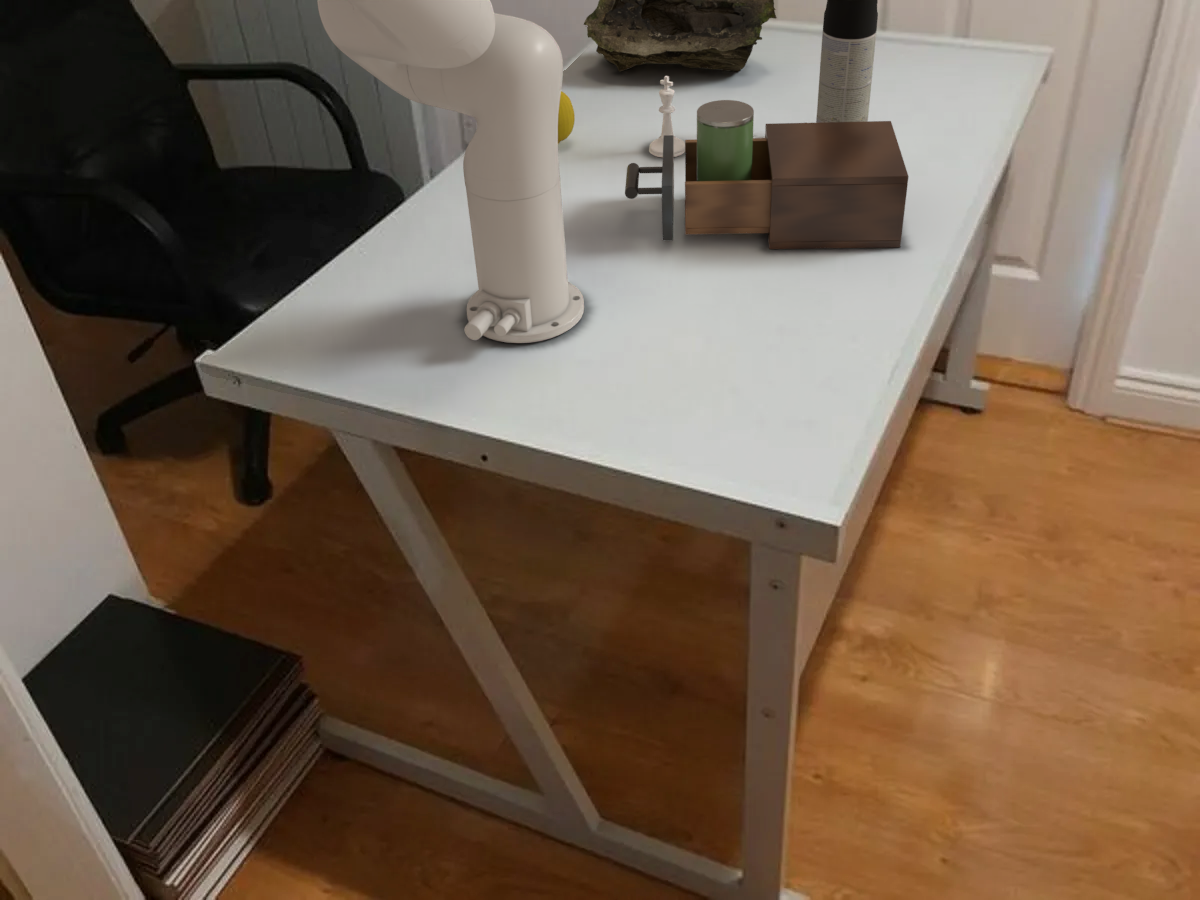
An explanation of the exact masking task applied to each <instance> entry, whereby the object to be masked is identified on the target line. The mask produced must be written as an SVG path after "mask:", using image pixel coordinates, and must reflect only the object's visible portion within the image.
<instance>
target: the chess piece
mask: <svg viewBox="0 0 1200 900" xmlns="http://www.w3.org/2000/svg"><path fill="white" fill-rule="evenodd" d="M659 84H660V85H663V87H664V88H662V89H660V90H659V91H658V95H659V97H660V101H661V104H662V105H661V106H660V107H658V112H659V113H661V114H663V115H662V125H661V134H660V136H658V138H656V139H654V140H652V141H651V142H650V143H649V148H648V152H649V154H651V155H652V156H655V157H658V158H662V159H663V138H664V135H673V136H674V158H677V157H679V156H681V155H683V154H684V153H685V140H683V139H680V138H678V137H677V136H675V135H674V134H675V133H674V128H673V121H672V114H673V113H675V112H676V107H675V106H674V105H672V103H673V99H674V96H675V90H674V89H673V88H670V87H673V86H674V82H673V81H670V76H669V75H664V77H663V79H660V81H659Z"/></svg>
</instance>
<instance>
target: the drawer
mask: <svg viewBox="0 0 1200 900" xmlns="http://www.w3.org/2000/svg"><path fill="white" fill-rule="evenodd" d="M674 136H675V135H674ZM674 136H673V135H664V138H663V158H662V163H661V164H662V165H661V166H640V165H639V164H638V163H636V162H631V163H629V164H627V166H626V174H625V175H626V176H625V185H624V186H625V187H624V195H625V197H626V198H627V199H629V200H634V199H636V198H637V197H638V195H661V223H662V224H661V225H662V227H661V229H662V231H661V232H662V241H663V242H668V241H669V242H670V241H671V242H672V241H674V213H675V212H674V211H675V210H674V209H675V157H674ZM684 142H685V152H684V153H685V154H684V156H685V157H684V162H685V163H684V168H685V169H684V171H685V172H684V176H685V178H684V222H685V223H684V235H733V234H734V235H736V234H737V235H739V234H742V235H745V234H768V233H769V229H770V206H771V183H772V182H771V173H770V165H769V157H768V148H767V140H766V138H765V137H753V152H752V180H744V181H697V138H695V139H685V140H684ZM640 174H661V186H660V187H657V186H656V187H655V186H654V187H639V183H640Z"/></svg>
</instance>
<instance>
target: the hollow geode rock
mask: <svg viewBox="0 0 1200 900" xmlns="http://www.w3.org/2000/svg"><path fill="white" fill-rule="evenodd" d="M776 10H777V9H776V8H775V0H598V2H597V6H596V8H595V9H594V10H593V11H592V12H591V13H590V14H589V15H587V16H586V17H585V19H584V22H583V25H584V26H585V27H586V31H587V32H586V33H587V34H586V35H587V38H591V40H592V41H593V42H595V44H596V45H597V47H596V50H595V52H596V53H597V54H599V55H602V56H603V58H604V59H605V60H606V61H607V62H609V63H611V64H613V65H615V66H616V69H617V70H618V72H623V71H626V70H628V69H631V68H633V67H635V66H642V65H644V64H656V65H659V64H661V65H666V64H670V65H671V64H673V65H674V64H680V65H681V66H682V67H683V68H689V69H707V70H712V71H714V70H720V71H722V72H726V71H727V72H728V71H730V72H741V70H743V69H744V68H745V66H746V65H747V62H748V60H749V59H750V56H751V55H752V52H753V48H754V46H756V45H757V44H758V41H762V40H763V37H762V36H761V33H762V32H761V31H762V29H763V26H762V25H764V24H765V23H767V22H768V21H769V20H770V19H775V20H776V19H777V15H776Z"/></svg>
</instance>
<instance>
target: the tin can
mask: <svg viewBox="0 0 1200 900" xmlns="http://www.w3.org/2000/svg"><path fill="white" fill-rule="evenodd" d="M754 114H755V110H754V108H753V106H751V104H749V103H746V102H744V101H739V100H734V99H733V100H732V99H719V100H713V101H712V100H711V101H708V102H705V103H704V104H703V103H702V105H700V106H699V107H698V108H697V109H696V139H697V181H744V180H752V152H753V138H754V121H755V120H754V119H755V117H754Z"/></svg>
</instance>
